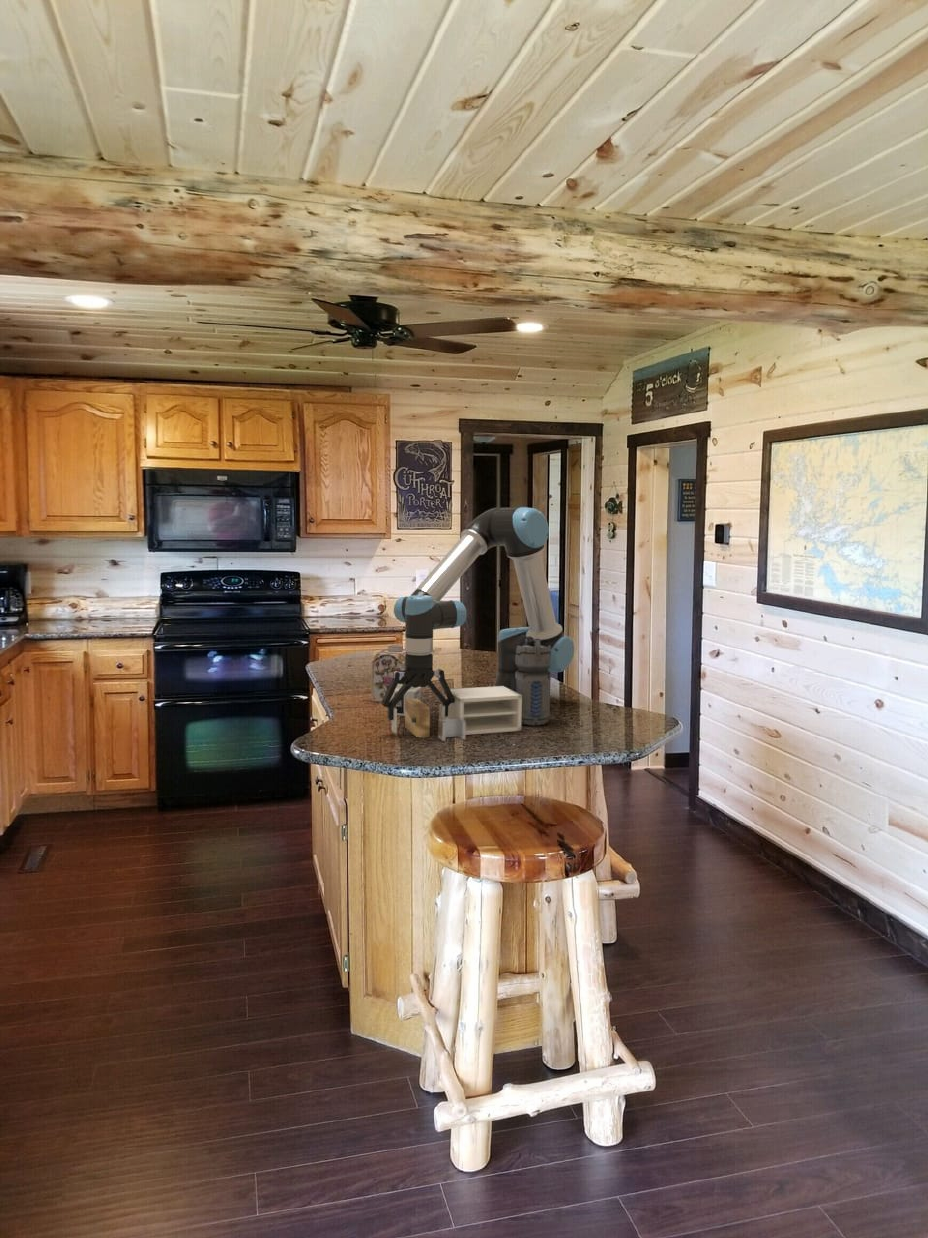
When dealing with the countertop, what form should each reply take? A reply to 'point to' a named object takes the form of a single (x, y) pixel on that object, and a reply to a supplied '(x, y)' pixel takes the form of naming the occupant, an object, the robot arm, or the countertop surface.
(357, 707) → the countertop surface
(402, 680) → the container
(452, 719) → the bracket
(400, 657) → the decorative jar
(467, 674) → the countertop surface
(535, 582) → the robot arm
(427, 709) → the oak door
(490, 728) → the block
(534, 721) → the beverage bottle
